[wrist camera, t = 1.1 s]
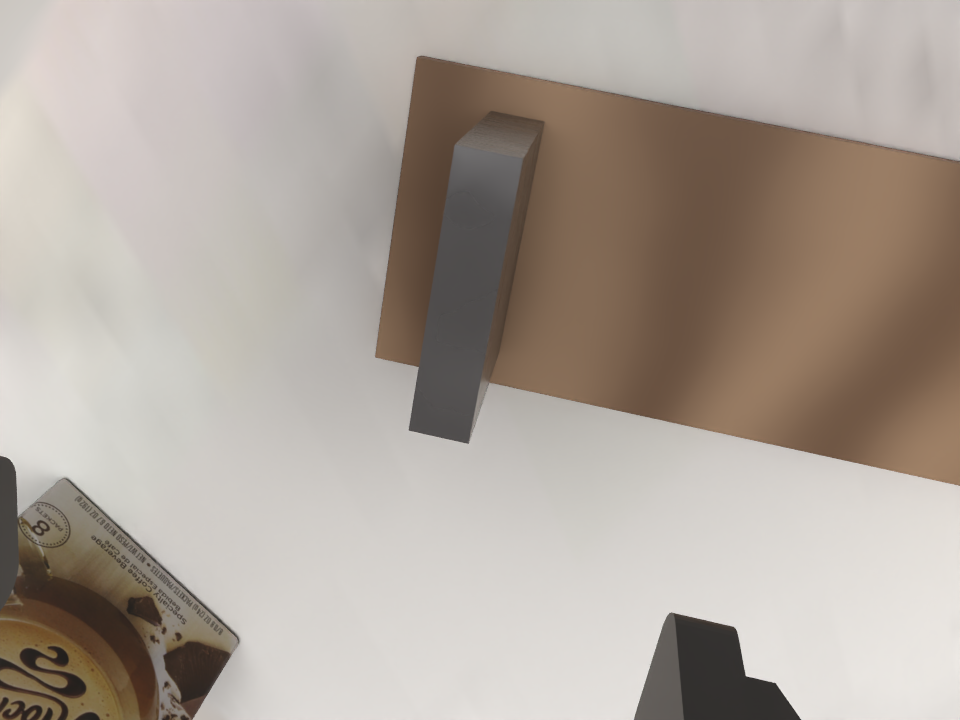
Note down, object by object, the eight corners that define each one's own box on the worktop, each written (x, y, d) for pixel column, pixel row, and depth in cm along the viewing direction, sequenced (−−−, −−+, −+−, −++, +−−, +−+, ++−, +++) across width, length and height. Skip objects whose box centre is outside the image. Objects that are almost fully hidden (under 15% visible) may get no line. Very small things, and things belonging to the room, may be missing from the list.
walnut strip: (379, 350, 29) (315, 445, 23) (421, 56, 25) (358, 76, 19) (1364, 565, 27) (1578, 732, 21) (1557, 279, 23) (1882, 380, 17)
